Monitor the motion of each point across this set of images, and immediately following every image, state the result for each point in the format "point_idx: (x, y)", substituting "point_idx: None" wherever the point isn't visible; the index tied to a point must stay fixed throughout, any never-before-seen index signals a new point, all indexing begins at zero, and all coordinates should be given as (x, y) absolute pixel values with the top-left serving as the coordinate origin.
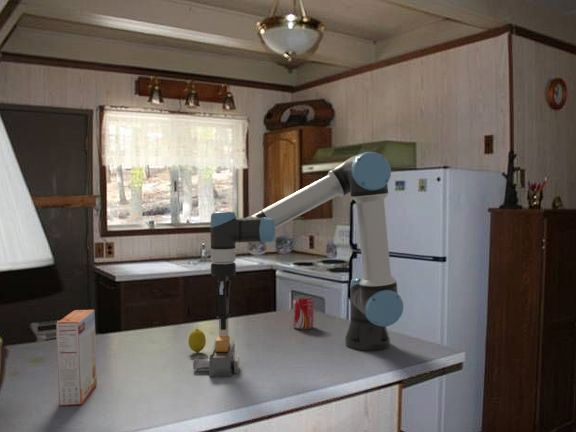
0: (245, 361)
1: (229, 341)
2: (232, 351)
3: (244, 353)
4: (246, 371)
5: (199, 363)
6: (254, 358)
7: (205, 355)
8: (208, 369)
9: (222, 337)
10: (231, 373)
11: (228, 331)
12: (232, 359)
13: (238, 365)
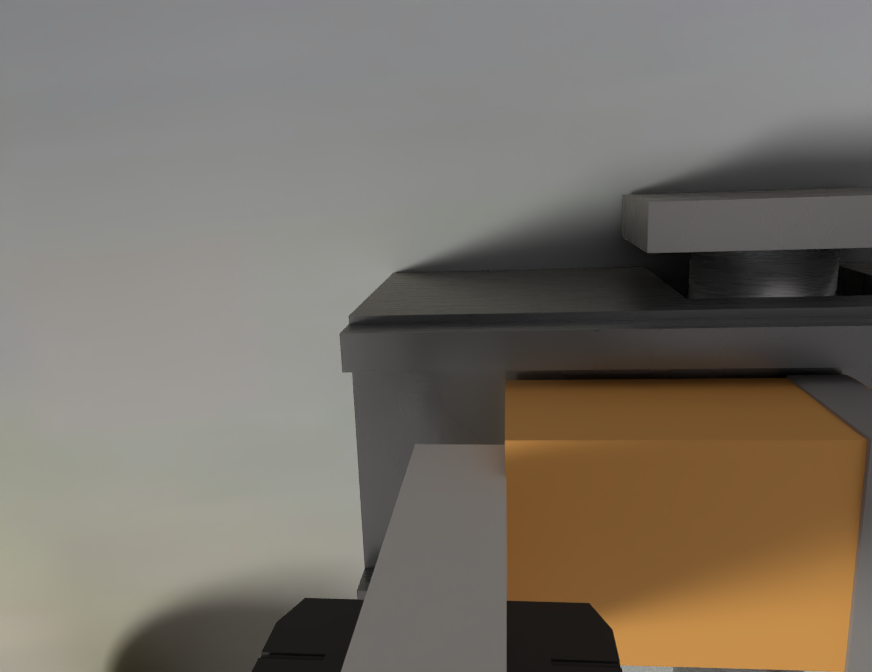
0: (392, 139)
1: (585, 409)
2: (775, 306)
3: (77, 187)
4: (789, 83)
5: (802, 670)
6: (266, 32)
7: (196, 612)
8: None
9: (622, 572)
10: (858, 262)
11: (403, 506)
12: (796, 282)
13: (749, 193)
